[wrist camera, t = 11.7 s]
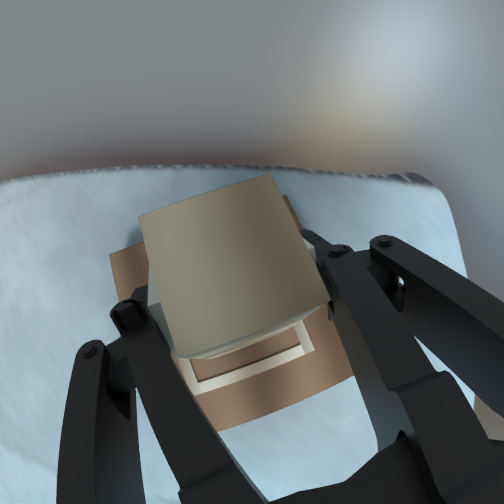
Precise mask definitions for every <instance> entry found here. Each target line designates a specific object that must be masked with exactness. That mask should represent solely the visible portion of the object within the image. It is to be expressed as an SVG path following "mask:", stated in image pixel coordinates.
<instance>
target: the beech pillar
mask: <svg viewBox="0 0 504 504" xmlns="http://www.w3.org/2000/svg"><path fill="white" fill-rule="evenodd" d="M138 218H139V223H140V227H141V231H142V236H143V240H144V244H145V248H146V252H147V256H148V260H149V263H150V267H151V271H152V275H153V278H154V282H155V285H156V289H157V292H158V296H159V299H160V302H161V305H162V309H163V312H164V315H165V318H166V321H167V325H168V328H169V331H170V334H171V337H172V340H173V343H174V345H175V348H176V351H177V354H178V357H179V358H190V359H213V358H216V357H219V356H222V355H225V354H227V353H230V352H233V351H236V350H238V349H241V348H244V347H247V346H249V345H252V344H254V343H257V342H260V341H262V340H265V339H267V338H270V337H272V336H275V335H277V334H280V333H282V332H285V331H286V330H288V329H289V328H291V327H292V326H294V325H295V324H297V323H298V322H300V321H301V320H303V319H304V318H306V317H307V316H309V315H310V314H312V313H313V312H314V311H316V310H317V309H319V308H320V307H322V306H323V305H325V304H326V303H327V302H329V301H330V300H331V298H330V296H329V294H328V292H327V289H326V287H325V285H324V283H323V281H322V278H321V276H320V274H319V272H318V270H317V268H316V265H315V263H314V261H313V259H312V257H311V255H310V253H309V250H308V248H307V246H306V244H305V242H304V240H303V238H302V236H301V234H300V232H299V230H298V228H297V226H296V223H295V221H294V219H293V217H292V215H291V213H290V211H289V209H288V207H287V205H286V203H285V201H284V199H283V197H282V195H281V193H280V191H279V189H278V188H277V186H276V184H275V182H274V180H273V178H272V176H271V174H267V175H263V176H260V177H256V178H253V179H249V180H246V181H243V182H239V183H236V184H233V185H229V186H226V187H223V188H220V189H216V190H213V191H210V192H207V193H204V194H201V195H198V196H195V197H192V198H189V199H186V200H183V201H180V202H177V203H174V204H171V205H168V206H166V207H163V208H160V209H157V210H154V211H152V212H149V213H146V214H143V215H141V216H138Z"/></svg>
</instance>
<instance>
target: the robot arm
mask: <svg viewBox="0 0 504 504" xmlns="http://www.w3.org/2000/svg"><path fill="white" fill-rule="evenodd" d="M299 232H300V234H301V236H302V238H303V240H304V242H305V244H306V246H307V248H308V250H309V253H310V255H311V257H312V259H313V261H314V263H315V265H316V268H317V270H318V272H319V274H320V276H321V278H322V281H323V283H324V285H325V287H326V289H327V292H328V294H329V296H330V298H331V300H330V301H329V302H327V310H328V319H329V321H330V320H331V317H332V320H333V322H334V325H335V327H336V330H337V332H338V335H339V337H340V340H341V342H342V345H343V347H344V350H345V352H346V355H347V357H348V360H349V363H350V365H351V368H352V370H353V373H354V376H355V378H356V381H357V384H358V386H359V389H360V392H361V394H362V397H363V400H364V403H365V405H366V408H367V411H368V414H369V416H370V419H371V422H372V425H373V428H374V431H375V434H376V437H377V442H378V453H377V454H376V455H374V456H373V457H372V458H371V459H370V460H369V461H368V462H367V463H366V464H365V465H364V466H362V467H361V468H360V469H359V470H358V471H357V472H356V473H354V474H353V475H352V476H351V477H350V478H348V479H347V480H346V481H344V482H341V483H337V484H333V485H329V486H324V487H320V488H315V489H310V490H304V491H299V492H296V493H293V494H291V495H288V496H285V497H283V498H280V499H277V500H274V501H271V502H269V501H268V500H267V499H266V497H265V496H264V495H263V494H262V493H261V492H260V490H259V489H258V488H257V487H256V485H255V484H254V483H253V481H252V480H251V479H250V478H249V476H248V475H247V474H246V472H245V471H244V470H243V468H242V467H241V466H240V464H239V463H238V462H237V460H236V459H235V458H234V456H233V455H232V453H231V452H230V451H229V449H228V448H227V446H226V445H225V443H224V442H223V440H222V439H221V438H220V436H219V435H218V433H217V432H216V430H215V429H214V427H213V426H212V424H211V422H210V421H209V419H208V418H207V416H206V415H205V413H204V412H203V410H202V408H201V407H200V405H199V404H198V402H197V400H196V399H195V397H194V395H193V394H192V392H191V390H190V389H189V387H188V385H187V384H186V382H185V380H184V378H183V377H182V375H181V373H180V371H179V370H178V368H177V366H176V364H175V363H174V361H173V359H172V357H171V352H172V353H173V355H174V357H175V359H176V358H179V357H178V354H177V351H176V348H175V345H174V343H173V340H172V337H171V334H170V331H169V328H168V325H167V321H166V318H165V315H164V312H163V309H162V305H161V302H160V299H159V296H158V292H157V289H156V285H155V282H154V278H153V275H152V271H151V267H150V263H149V280H148V284H147V285H144V286H141V287H138V288H136V289H135V290H134V292H133V293H132V295H131V298H128V299H125V300H123V301H121V302H119V303H118V304H116V305H115V306H114V307H113V308H112V310H111V312H110V317H111V319H112V320H113V322H114V324H115V326H116V327H117V329H118V331H119V332H120V335H121V337H120V338H118V339H117V340H115V341H114V342H112V343H110V344H108V345H107V346H105V345H104V343H103V342H102V341H101V340H92V341H89V342H87V343H85V344H84V345H82V346H81V348H80V349H79V350H78V352H77V354H76V357H75V361H74V366H73V370H72V375H71V379H70V384H69V389H68V394H67V400H66V406H65V412H64V418H63V425H62V432H61V440H60V449H59V460H58V473H57V497H56V504H146V501H145V494H144V487H143V480H142V472H141V463H140V453H139V441H138V427H137V409H136V390H135V388H136V387H137V389H138V392H139V395H140V398H141V400H142V403H143V406H144V408H145V411H146V413H147V416H148V418H149V421H150V423H151V426H152V428H153V431H154V433H155V435H156V438H157V440H158V442H159V444H160V447H161V449H162V451H163V453H164V455H165V458H166V460H167V462H168V464H169V466H170V468H171V470H172V472H173V474H174V476H175V478H176V480H177V482H178V484H179V486H180V490H179V492H178V496H179V499H180V501H181V503H182V504H504V441H501V440H492V439H488V437H487V435H486V433H485V431H484V429H483V427H482V425H481V424H480V422H479V420H478V418H477V416H476V414H475V413H474V411H473V409H472V407H471V406H470V404H469V402H468V400H467V399H466V397H465V395H464V393H463V392H462V390H461V388H460V387H459V385H458V384H457V382H456V380H455V379H454V377H453V376H452V375H451V374H450V372H447V371H445V370H444V371H441V372H437V371H436V370H435V369H434V368H433V366H432V364H431V363H430V361H429V359H428V358H427V356H426V354H425V353H424V351H423V350H422V348H421V347H420V345H419V343H418V342H417V340H416V339H415V337H416V338H417V339H418V340H419V341H420V342H422V343H423V344H424V345H425V346H426V347H427V348H428V349H429V350H430V351H431V352H432V353H433V354H434V355H436V356H437V357H438V358H439V359H440V360H441V361H442V362H443V363H444V364H445V365H446V366H447V367H448V368H449V369H450V370H451V371H452V372H454V373H455V374H456V375H457V376H458V377H459V378H460V379H461V380H462V381H463V382H464V383H465V384H466V385H467V386H468V387H469V388H470V389H471V390H472V391H473V392H474V393H475V394H476V395H477V396H478V397H479V398H480V399H481V400H482V401H483V402H484V403H485V404H487V405H488V406H489V407H490V408H491V409H492V410H493V411H495V412H496V413H498V414H499V415H500V416H502V417H503V418H504V303H503V302H502V301H500V300H499V299H497V298H496V297H494V296H493V295H491V294H490V293H488V292H487V291H485V290H483V289H482V288H480V287H479V286H478V285H476V284H474V283H473V282H471V281H470V280H468V279H467V278H465V277H463V276H462V275H460V274H459V273H457V272H455V271H454V270H452V269H450V268H449V267H447V266H445V265H444V264H442V263H440V262H439V261H437V260H435V259H433V258H432V257H430V256H428V255H427V254H425V253H423V252H421V251H420V250H418V249H416V248H414V247H412V246H411V245H409V244H407V243H405V242H403V241H402V240H400V239H398V238H396V237H393V236H388V235H380V236H377V237H375V238H373V239H371V241H370V249H368V250H363V251H357V252H354V251H353V249H352V248H351V247H349V246H347V245H341V244H337V245H332V244H330V243H329V242H327V241H326V240H324V239H323V238H322V237H320V236H319V235H317V234H316V233H314V232H313V231H310V230H306V229H302V230H299ZM399 276H400V277H401V278H402V280H403V281H404V285H402V284H401V283H399ZM413 335H414V336H415V337H414V336H413Z"/></svg>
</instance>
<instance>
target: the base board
mask: <svg viewBox="0 0 504 504" xmlns="http://www.w3.org/2000/svg"><path fill="white" fill-rule="evenodd" d="M282 197H283V199H284V201H285V203H286V205H287V207H288V209H289V211H290V213H291V215H292V217H293V219H294V221H295V223H296V226H297V228H298V230H302V229H303V228H302V226H301V224H300V222H299V220H298V218H297V216H296V214H295V212H294V210H293V208H292V206H291V204H290V202H289V200H288V198H287V196H286V195H283V196H282ZM109 257H110V262H111V267H112V272H113V276H114V281H115V285H116V290H117V294H118V298H119V302H121V301H123V300H125V299H128V298H131V295H132V293H133V292H134V290H135V289H136V288H138V287H141V286H144V285H147V284H148V280H149V260H148V256H147V252H146V248H145V244H144V242H141V243H139V244H136V245H133V246H131V247H128V248H125V249H123V250H120V251H117V252H115V253H112V254H109ZM171 357H172V359H173V361H174V363H175V364H176V366H177V368H178V370H179V371H180V373H181V375H182V377H183V378H184V380H185V382H186V384H187V385H188V387H189V389H190V390H191V392H192V394H193V395H194V397H195V399H196V400H197V402H198V404H199V405H200V407H201V408H202V410H203V412H204V413H205V415H206V416H207V418H208V419H209V421H210V422H211V424H212V426H213V427H214V429H215V430H216V432H219V431H222V430H225V429H228V428H231V427H234V426H237V425H240V424H243V423H246V422H249V421H251V420H254V419H257V418H260V417H262V416H265V415H268V414H270V413H273V412H275V411H278V410H280V409H283V408H285V407H288V406H290V405H292V404H295V403H297V402H299V401H302V400H304V399H306V398H308V397H311V396H313V395H315V394H317V393H319V392H321V391H323V390H326V389H328V388H330V387H332V386H334V385H336V384H338V383H340V382H342V381H344V380H346V379H348V378H350V377H351V376H353V375H354V373H353V370H352V368H351V365H350V363H349V360H348V357H347V355H346V352H345V350H344V347H343V345H342V342H341V340H340V337H339V335H338V332H337V330H336V327H335V325H334V322H333V320H332V317H331V320H330V321H329V319H328V310H327V303H326V304H325V305H323V306H322V307H320V308H319V309H317V310H316V311H314V312H313V313H312V314H310V315H309V316H307V317H306V318H304V319H303V320H301V321H300V322H298V323H297V324H295V325H294V326H292V327H291V328H289V329H288V330H286V331H285V332H282V333H280V334H277V335H275V336H272V337H270V338H267V339H265V340H262V341H260V342H257V343H254V344H252V345H249V346H247V347H244V348H241V349H238V350H236V351H233V352H230V353H227V354H225V355H222V356H219V357H216V358H213V359H190V358H176V359H175V357H174V355H173V353H172V352H171Z"/></svg>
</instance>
